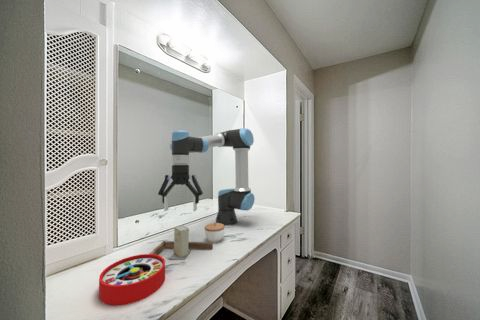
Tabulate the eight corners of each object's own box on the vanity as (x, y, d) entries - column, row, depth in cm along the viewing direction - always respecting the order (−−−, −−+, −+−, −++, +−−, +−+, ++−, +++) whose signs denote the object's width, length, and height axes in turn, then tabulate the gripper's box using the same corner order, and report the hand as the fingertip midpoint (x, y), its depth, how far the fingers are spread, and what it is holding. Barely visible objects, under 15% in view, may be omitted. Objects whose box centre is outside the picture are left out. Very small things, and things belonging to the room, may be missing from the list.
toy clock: (175, 266, 67) (108, 296, 52) (175, 283, 67) (108, 317, 52) (151, 249, 81) (92, 269, 66) (151, 263, 80) (92, 286, 66)
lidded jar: (221, 245, 97) (221, 226, 97) (201, 243, 99) (201, 225, 99) (226, 237, 107) (226, 220, 108) (208, 235, 110) (208, 219, 110)
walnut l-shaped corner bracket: (163, 247, 95) (163, 241, 95) (212, 248, 93) (212, 242, 93) (145, 264, 79) (145, 257, 79) (204, 266, 77) (204, 259, 77)
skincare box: (173, 253, 88) (173, 226, 88) (182, 250, 91) (182, 224, 91) (180, 258, 83) (180, 230, 83) (189, 254, 86) (189, 228, 87)
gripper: (150, 164, 85) (150, 212, 85) (205, 164, 83) (205, 213, 83) (158, 164, 92) (158, 208, 92) (209, 164, 90) (209, 208, 90)
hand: (180, 210), depth 87 cm, fingers open, 13 cm apart
